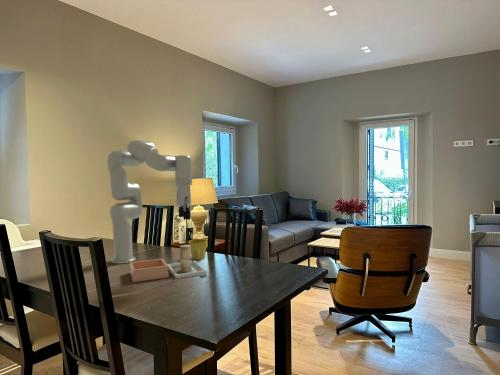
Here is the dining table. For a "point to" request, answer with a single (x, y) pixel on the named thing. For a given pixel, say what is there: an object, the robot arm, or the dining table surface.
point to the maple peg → (185, 258)
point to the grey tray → (195, 267)
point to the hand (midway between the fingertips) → (184, 218)
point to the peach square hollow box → (148, 270)
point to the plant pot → (198, 248)
